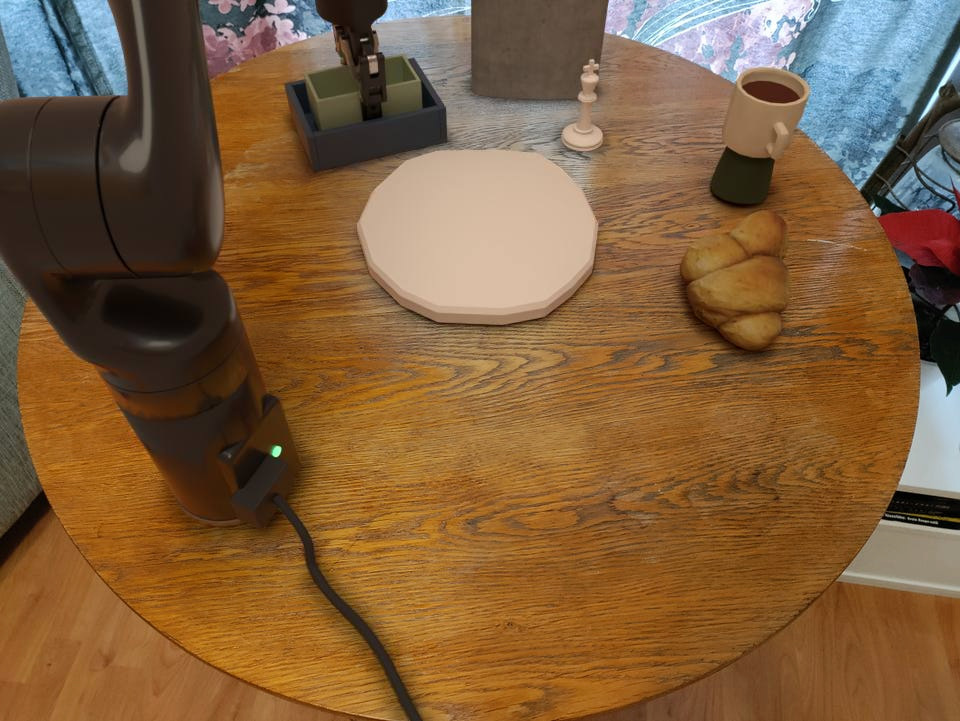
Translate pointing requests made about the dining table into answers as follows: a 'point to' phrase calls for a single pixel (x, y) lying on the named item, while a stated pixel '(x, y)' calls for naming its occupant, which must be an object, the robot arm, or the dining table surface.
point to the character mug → (757, 132)
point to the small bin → (339, 94)
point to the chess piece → (584, 116)
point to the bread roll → (741, 279)
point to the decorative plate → (479, 236)
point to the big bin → (368, 129)
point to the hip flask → (534, 47)
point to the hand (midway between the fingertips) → (365, 110)
